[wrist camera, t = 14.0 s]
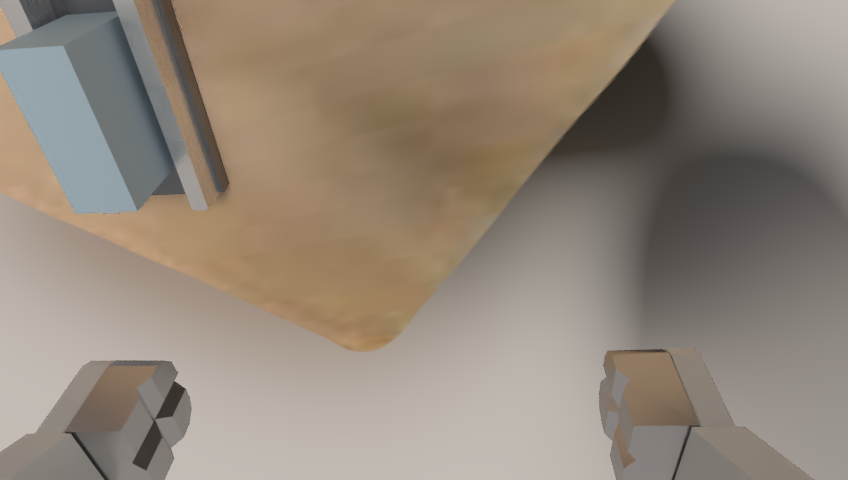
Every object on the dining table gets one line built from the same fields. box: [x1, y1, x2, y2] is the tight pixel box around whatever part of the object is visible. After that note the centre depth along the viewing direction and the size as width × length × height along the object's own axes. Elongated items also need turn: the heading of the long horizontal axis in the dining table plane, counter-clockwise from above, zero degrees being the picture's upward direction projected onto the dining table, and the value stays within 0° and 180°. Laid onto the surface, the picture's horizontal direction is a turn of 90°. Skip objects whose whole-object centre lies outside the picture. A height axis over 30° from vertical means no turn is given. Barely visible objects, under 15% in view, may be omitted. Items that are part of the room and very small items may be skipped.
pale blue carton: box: [0, 11, 175, 214], centre depth 34 cm, size 4×10×7 cm, turn 5°
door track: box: [0, 0, 229, 214], centre depth 37 cm, size 16×8×4 cm, turn 4°
